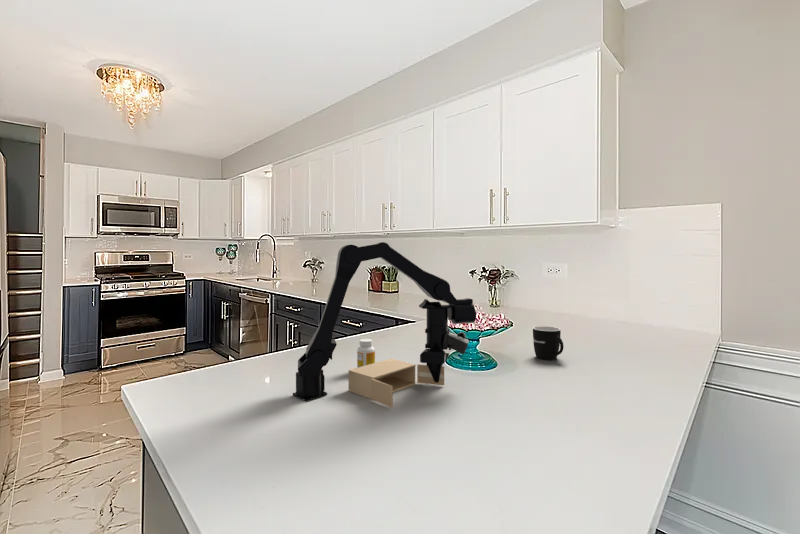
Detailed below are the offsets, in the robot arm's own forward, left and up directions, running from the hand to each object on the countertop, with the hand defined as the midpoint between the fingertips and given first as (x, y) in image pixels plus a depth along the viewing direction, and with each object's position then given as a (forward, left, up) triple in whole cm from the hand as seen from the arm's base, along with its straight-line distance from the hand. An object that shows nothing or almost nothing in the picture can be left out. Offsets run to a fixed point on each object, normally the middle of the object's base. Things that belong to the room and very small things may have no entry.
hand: (437, 381), depth 115 cm
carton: (-11, +10, -1) cm, 15 cm away
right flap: (-1, +2, -1) cm, 2 cm away
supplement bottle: (-4, +24, -1) cm, 24 cm away
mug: (+48, -10, -1) cm, 50 cm away
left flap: (-20, +1, -1) cm, 20 cm away
